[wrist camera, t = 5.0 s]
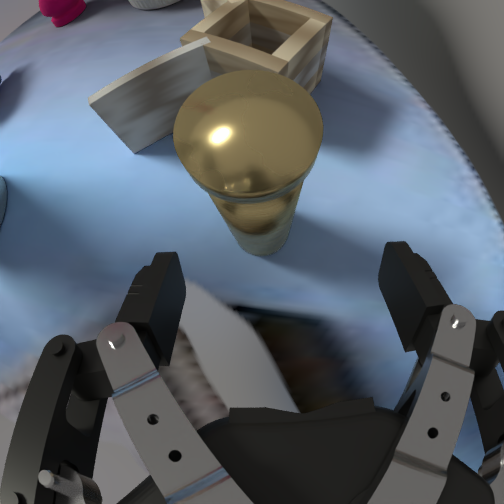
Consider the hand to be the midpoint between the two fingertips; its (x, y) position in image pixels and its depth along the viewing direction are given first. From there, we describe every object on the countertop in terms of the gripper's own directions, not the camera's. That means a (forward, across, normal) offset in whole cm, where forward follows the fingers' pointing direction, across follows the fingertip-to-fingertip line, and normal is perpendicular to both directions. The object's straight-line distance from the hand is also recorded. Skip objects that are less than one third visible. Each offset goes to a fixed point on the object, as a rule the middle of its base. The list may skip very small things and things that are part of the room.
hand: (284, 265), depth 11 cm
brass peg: (+10, -1, -4) cm, 11 cm away
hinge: (+19, -5, +5) cm, 20 cm away
